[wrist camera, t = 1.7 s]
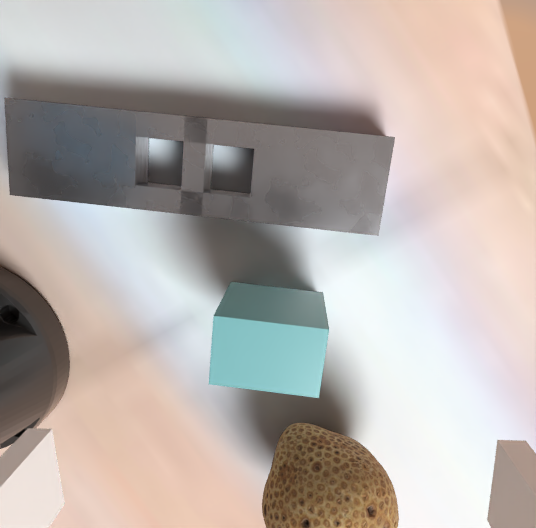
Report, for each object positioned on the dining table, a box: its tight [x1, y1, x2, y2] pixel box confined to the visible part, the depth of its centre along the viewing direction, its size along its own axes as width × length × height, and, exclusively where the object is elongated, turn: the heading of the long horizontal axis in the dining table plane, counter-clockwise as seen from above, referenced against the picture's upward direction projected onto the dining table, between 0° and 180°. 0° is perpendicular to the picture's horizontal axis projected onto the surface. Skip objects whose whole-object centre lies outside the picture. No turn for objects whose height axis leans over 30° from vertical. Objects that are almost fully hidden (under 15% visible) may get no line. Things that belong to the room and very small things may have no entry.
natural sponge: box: [262, 423, 399, 528], centre depth 30 cm, size 9×9×10 cm
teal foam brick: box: [209, 282, 329, 398], centre depth 27 cm, size 6×4×9 cm, turn 84°
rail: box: [5, 98, 395, 236], centre depth 28 cm, size 24×6×2 cm, turn 84°
